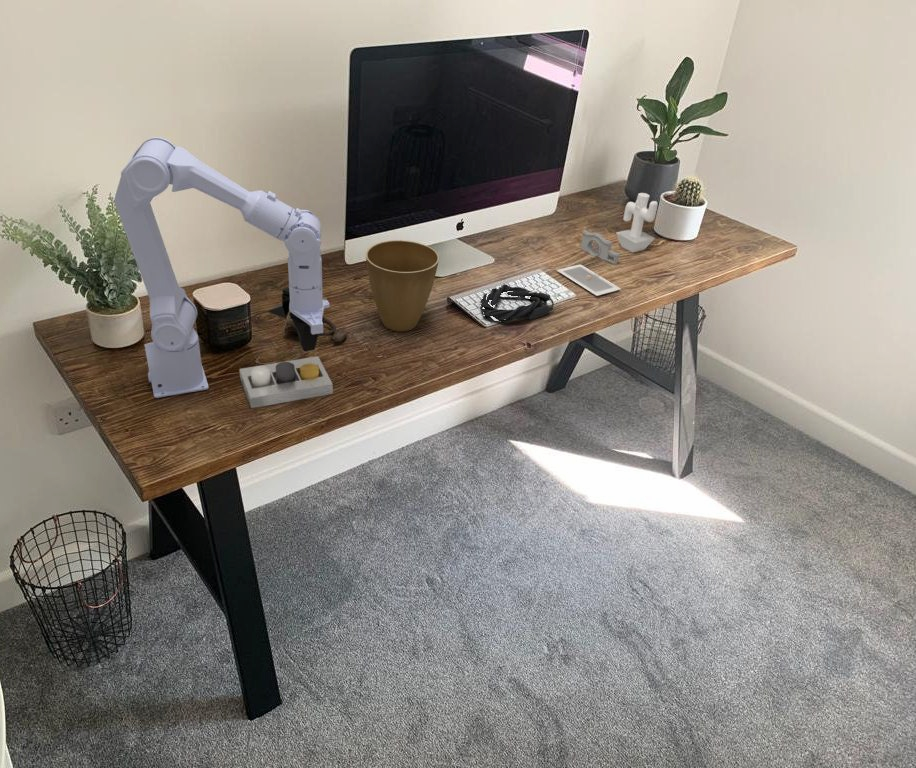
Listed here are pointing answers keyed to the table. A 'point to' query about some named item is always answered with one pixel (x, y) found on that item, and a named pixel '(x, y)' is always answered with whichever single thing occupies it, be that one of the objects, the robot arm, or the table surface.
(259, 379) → the white button
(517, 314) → the cable
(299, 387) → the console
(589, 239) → the grey bracket plate
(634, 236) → the figurine
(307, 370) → the amber button
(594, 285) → the touchpad
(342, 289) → the table surface
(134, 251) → the robot arm
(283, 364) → the dark grey rounded block
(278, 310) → the black mount on base
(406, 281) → the plant pot
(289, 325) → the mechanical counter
